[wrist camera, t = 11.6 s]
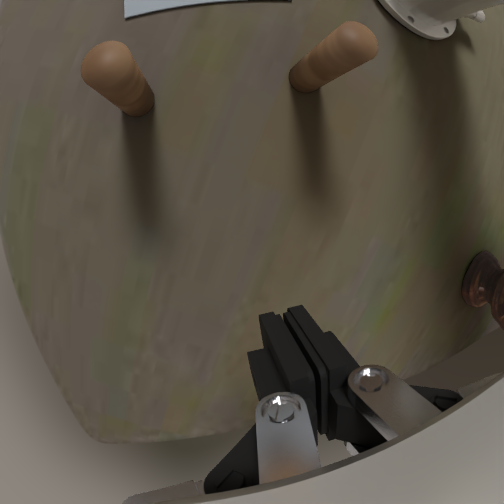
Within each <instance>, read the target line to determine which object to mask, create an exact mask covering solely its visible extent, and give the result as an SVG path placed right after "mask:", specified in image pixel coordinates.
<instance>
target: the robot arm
mask: <svg viewBox="0 0 504 504" xmlns="http://www.w3.org/2000/svg"><path fill="white" fill-rule="evenodd" d="M378 1H379V2H380V3H381V4H382V5H383V7H384V8H385V9H386V10H387V11H388V12H389V13H390V14H391V15H392V16H393V17H394V18H395V19H396V20H397V21H399V22H400V23H401V24H402V25H404V26H405V27H406V28H408V29H409V30H411V31H412V32H414V33H416V34H418V35H420V36H422V37H424V38H427V39H432V40H442V39H444V38H447V37H449V36H451V35H452V34H453V32H454V31H455V28H456V19H458V18H461V17H469V18H471V19H473V20H475V21H477V22H480V23H481V22H483V21H484V20H485V15H484V13H483V11H481V10H484V9H487V8H490V7H493V6H496V5H500V4H503V3H504V0H378ZM283 320H284V321H283ZM259 322H260V328H261V334H262V340H263V346H264V348H263V349H259V350H255V351H250V352H247V354H248V359H249V364H250V369H251V373H252V378H253V382H254V385H255V389H256V392H257V395H258V399H259V403H258V405H257V406H256V411H255V416H256V424H255V425H254V426H253V427H252V428H251V429H250V430H249V431H248V433H247V434H246V435H245V436H244V437H243V438H242V439H241V440H240V441H239V443H238V444H237V445H236V446H235V447H234V448H233V449H232V450H231V451H230V452H229V453H228V454H227V455H226V456H225V457H224V459H222V460H221V461H220V463H219V464H218V465H217V466H216V467H215V468H214V469H213V470H212V471H211V472H210V473H209V474H208V475H207V477H206V478H205V479H204V480H201V481H198V482H194V481H193V480H191V481H187V482H184V483H180V484H177V485H173V486H170V487H166V488H162V489H158V490H154V491H149V492H145V493H140V494H135V495H133V496H130V497H128V498H127V499H126V500H124V501H123V503H122V504H504V372H502V373H497V374H494V375H491V376H489V377H487V378H484V379H482V380H479V381H477V382H474V383H472V384H469V385H466V386H463V387H461V388H458V389H457V391H456V392H454V391H451V390H445V389H435V388H428V387H419V386H412V385H407V384H406V383H405V382H404V381H402V380H401V379H400V378H399V377H397V376H396V375H395V374H394V373H392V372H391V371H390V370H388V369H387V368H385V367H383V366H379V365H364V366H361V367H360V366H359V365H358V363H357V362H356V361H355V360H354V358H353V357H352V356H351V355H350V354H349V352H348V351H347V350H346V349H345V347H344V346H343V345H342V344H341V342H340V341H339V340H338V339H337V337H336V336H335V335H334V334H333V333H332V332H331V331H328V332H325V333H323V331H322V330H321V329H320V327H319V326H318V325H317V323H316V322H315V321H314V320H313V318H312V317H311V316H310V314H309V313H308V312H307V310H306V309H305V308H304V307H303V305H299V306H295V307H291V308H288V309H287V312H286V313H283V319H282V317H281V316H280V314H278V315H275V314H274V312H270V313H265V314H261V315H259ZM317 429H318V432H319V433H320V434H321V435H322V434H326V436H327V438H328V440H329V441H330V440H333V439H338V440H342V441H344V445H345V447H346V449H347V450H348V451H349V452H350V453H351V455H352V457H350V458H347V459H345V460H342V461H339V462H336V463H333V464H330V465H328V466H325V467H322V468H321V464H320V459H319V455H318V451H317V445H318V441H317V440H318V439H317Z"/></svg>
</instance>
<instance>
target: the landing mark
mask: <svg viewBox="0 0 504 504" xmlns="http://www.w3.org/2000/svg"><path fill="white" fill-rule="evenodd" d="M228 1H246V0H124V7H125V19H126V18H130V17H134V16H138V15H142V14H146V13H151V12H156V11H161V10H166V9H171V8H177V7H184V6H190V5H198V4H206V3H216V2H228ZM290 1H292V0H290Z"/></svg>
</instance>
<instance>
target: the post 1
mask: <svg viewBox="0 0 504 504" xmlns="http://www.w3.org/2000/svg"><path fill="white" fill-rule="evenodd" d="M81 75H82V78H83V80H84V82H85V83H86V84H88V85H89V86H90V87H92V88H93V89H94V90H96V91H97V92H98V93H100V94H101V95H102V96H104V97H105V98H106V99H108V100H109V101H110V102H112V103H113V104H114V105H116V106H117V107H118V108H120V109H121V110H122V111H123V112H125V113H126V114H127V115H129V116H132V117H139V116H142V115H144V114H146V113H147V112H148V111H149V110H150V109H151V108H152V106H153V104H154V94H153V92H152V90H151V88H150V86H149V85H148V83H147V81H146V79H145V78H144V76H143V74H142V72H141V70H140V69H139V67H138V65H137V63H136V62H135V60H134V58H133V56H132V55H131V53H130V51H129V49H128V48H127V46H125V45H124V44H123V43H121V42H118V41H106V42H103V43H100V44H98V45H97V46H95V47H94V48H92V49H91V50H90V51H89V52H88V54H87V55H86V56H85V58H84V60H83V62H82V66H81Z"/></svg>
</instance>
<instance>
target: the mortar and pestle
mask: <svg viewBox="0 0 504 504" xmlns="http://www.w3.org/2000/svg"><path fill="white" fill-rule="evenodd" d="M462 296H463V298H464V300H465V302H466V303H467V304H469V305H470V306H474V307H481V306H483V305H484V304H486V303H487V302H488V303H490V305H491V312H492V315H493V317H494V319H495V320H496V321H497V322H498V323H499V325H500V327H501V328H502V329H503V330H504V269H501V268H500V265H499V262H498V260H497V259H496V258H495V257H494V256H493V255H492V254H491V253H490V252H488V251H483V252H481V253H479V254H478V255H477V256H476V257H475V258H474V260H473V262H472V263H471V265H470V267H469V269H468V271H467V273H466V275H465V277H464V281H463V287H462Z"/></svg>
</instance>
